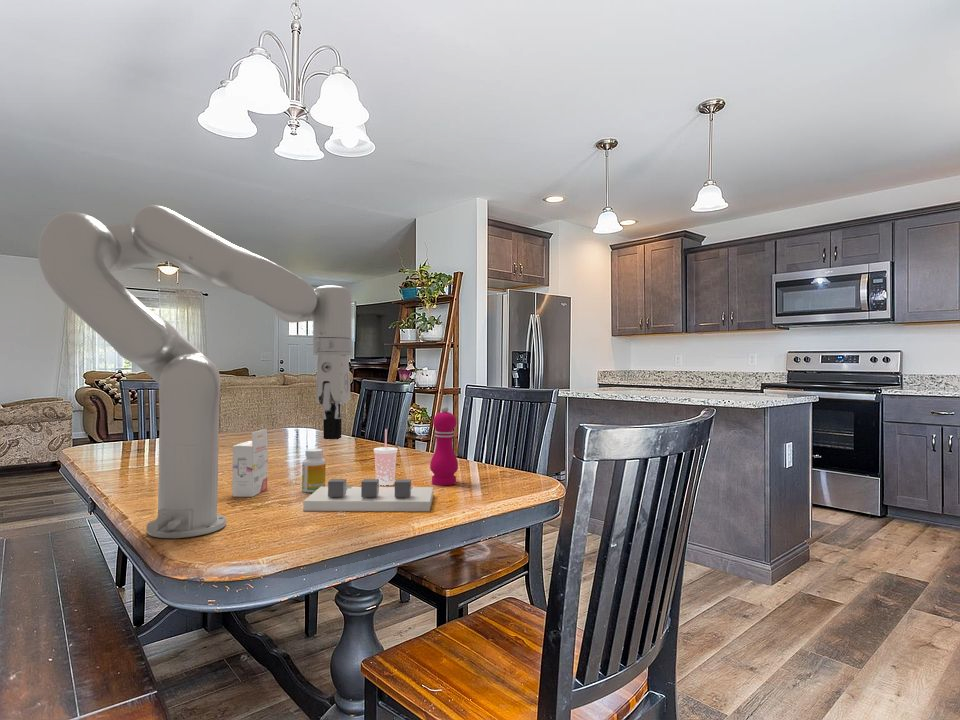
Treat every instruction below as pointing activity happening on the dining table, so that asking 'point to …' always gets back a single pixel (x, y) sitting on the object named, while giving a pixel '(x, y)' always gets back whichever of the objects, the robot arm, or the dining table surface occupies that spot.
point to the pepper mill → (444, 449)
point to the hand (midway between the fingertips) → (332, 438)
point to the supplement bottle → (313, 470)
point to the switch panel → (370, 500)
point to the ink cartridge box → (250, 466)
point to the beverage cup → (385, 463)
